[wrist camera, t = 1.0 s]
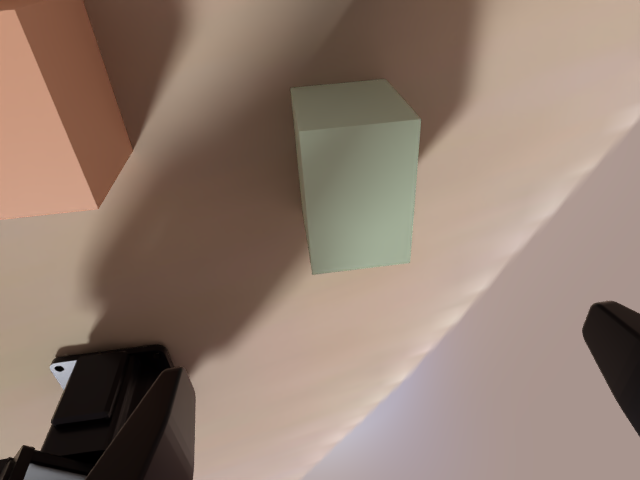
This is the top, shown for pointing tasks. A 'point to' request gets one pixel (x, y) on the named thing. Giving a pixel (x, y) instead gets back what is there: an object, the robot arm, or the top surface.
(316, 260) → the sage brick
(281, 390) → the top surface
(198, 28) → the top surface
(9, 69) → the terracotta brick
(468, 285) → the top surface
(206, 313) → the top surface
